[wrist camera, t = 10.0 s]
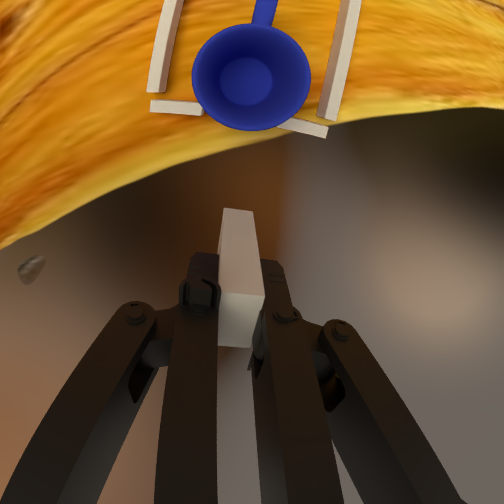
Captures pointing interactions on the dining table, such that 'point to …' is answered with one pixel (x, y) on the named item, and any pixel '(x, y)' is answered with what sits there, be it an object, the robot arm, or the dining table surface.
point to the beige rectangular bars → (326, 110)
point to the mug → (251, 74)
